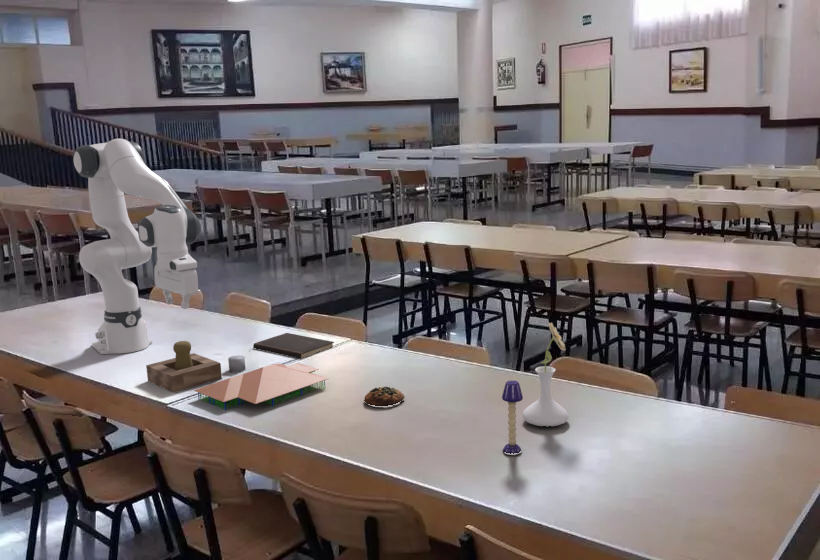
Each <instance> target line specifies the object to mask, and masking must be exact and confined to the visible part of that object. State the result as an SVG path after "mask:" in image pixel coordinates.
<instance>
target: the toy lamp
mask: <svg viewBox="0 0 820 560" xmlns="http://www.w3.org/2000/svg"><path fill="white" fill-rule="evenodd" d="M501 399H502V401H504V402H507V404H508V406H507V411H508V415H507V416H508V417H507V418H508V419H507V422H508V423H507V424H508V427H507V429H508V443H507V444H505V445H504V446H503V450H502V452H503V451H504V452H506V453H510V454H511V453H513V454H514V453H519V452H520V451H522V448H521V446H520V445H519V444H517V432H516V430H517V426H516V425H517V420H516V418H517V413H516V411H517V408H516V406H517V403H519V402H521V401H523V392H522V390H521V385H520V382H519V381H517V380H507V381H506V382H505V384H504V387H503V392H502V395H501Z"/></svg>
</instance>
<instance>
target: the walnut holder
mask: <svg viewBox="0 0 820 560" xmlns="http://www.w3.org/2000/svg"><path fill="white" fill-rule="evenodd" d="M190 355H191V359H192V363H193V367H189V368H186V369H182V370H178V371H176V370H175V362H176V357H173V358H170V359H166V360H162V361H159V362H158V361H157V362H154V363H149V364H146V375H147V376H146V377H147V382H149V381H150V383H151V382H152V384H153V383H154V384H153V385H156V386H158V387H160V386H161V387H160V388H162V387H163V389H164V388H165V389H164V390H167V391H169V392H171V393H173V392H174V393H177V392H180V391H184V390H187V389H190V388H194V387H197V386H201V385H205V384H209V383H212V382H216V381H219V380H223V376H222V375H223V374H222V365H221V362H219V361H216V360H213V359H210V358H208V357H205V356H202V355H199V354H197V353H195V352H194V353H190Z"/></svg>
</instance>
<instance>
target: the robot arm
mask: <svg viewBox="0 0 820 560" xmlns="http://www.w3.org/2000/svg"><path fill="white" fill-rule="evenodd" d="M73 165H74V168H75V170H76V171H75V172H77V174H78V175H79V176H80V177H82V178H87V179H88V181H87V183H88V185H87V186H88V187H87V189H88V197H89V204H90V209H91V214H92V215H91V216H92V220H93V222H94V223H95V225H97V226H98V227H100V228H103V229H105V230H106V231H107V232H108V235H109V237H110V238H107V239H101V240H95V241H92V242H90V243H87V244H85V245H84V246H83V247H81V248H80V251H79V255H78V261H79V263H80V266H81V268H82V269H83V270H84V271H85V272H87V273H88V274H89V275H92V276H93V277H94V278H95V280H96V281H97V282H98V283H99V285H100V287H101V290H102V294H103V301H104V307H105V308H104V309H105V310H104V314H103V317H104V318H103V320H104V321H103V323H102V324H101V325H100V326H99V328H98V329H97V331H96V332H95V334H94V335H95V339H97V340H95V341H93V342H92V343H91V346H92V347H93V348H94V349H95V350H96V351H97V352H98V354H100V355H109V354H111V355H112V354H128V353H133V352H138V351H142V350H144V349H146V348H148V347H149V345H151V344H153V339H152V338H149V332H148V327H147V323H146V321H145V320H144V319H142V317H143V316H142V309H141V306H140V301H139V292H138V291H139V290H138V286H137V285H136V284H135V283H134V282H133V281H131V280H128V279H125V277H124V274H123V272H122V270H126V269H129V268H134V267H138V266H140V265H143V264H145V263H147V262H149V261H150V259H151V257H152V253H153V249H152V248H156V258H157V260H156V264H155V265H154V271H153V272H154V285H155V287H156V288H158V289H161V290H162V293H163V296H164V298H165V303H166V304H167V305H172V304H174V297H173V296H172V295H173V294H172V293H175V294H178V295H180V296H181V298H182V301H181V302H180V306H181V307H180V308H181V309H183V310H187V309H189V308H190V301H191V296H194V295H197V294H198V292H199V281H198V280H199V279H198V272H197V270H196V269H197V268H198V262H197V260H196V259H194V258H193V257H192V256H191V255H190V254H189V248H188V245H193V243H195V242H196V241H197V239H199V237H200V235H201V233H202V225H201V222H200V219H199V218H198V217H197V216H196V214H195V213H194V212H193V211H191V210H190V209H189V208H188V207H187V205H186V204H185V203H184V202H183V200H182V199H181V198H180V196H179V195H178V194H177V193H176V191H175V190H174V188H172V186H171V185H170V183H169V182H168V181H167V180H166V179H165V178H164V177H162V176H160V175H158V174H156V173H155V172H154V171H152V170H151V169H150V168H149V167H148V165H146V163H145V157H144V152H143V148H142V147H141V146H140V145H139V144H138V143H137V142H134V141H128V140H127V139H124V138H114V139H111V140H110V141H105V142H102V143H94V144H90V145H89V144H84V145H80V146H78V147H77V148H76V149H75V150H74V152H73ZM125 194H126V195H129V196H132V197H142V198H147V199H150V200H154V201H157V202H159V203H160V204H161V205H159V206H158V205H157V206H156V207H155V209H154V211H153V213H152V214H150V215H147V216H145V217H143V218H142V219H141V220H140V221H139V223H138V225H137V230H136V229H135V227H134V226H133V224H132V222H131V219H130V217H129V214H128V213H129V212H128V208H127V206H126V205H127V204H126V198H125ZM171 292H172V293H171Z"/></svg>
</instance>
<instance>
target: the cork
mask: <svg viewBox="0 0 820 560" xmlns="http://www.w3.org/2000/svg"><path fill="white" fill-rule="evenodd" d="M172 347H173V352H174V353H175V358H176V362H175V370H176V371H178V370H182V369H186V368H189V367H193V363H192V359H191V355H190V354H191V350H192V344H191V342H190V341H187V340H180V341H177V342H175V343H174V344H173V346H172Z"/></svg>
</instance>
